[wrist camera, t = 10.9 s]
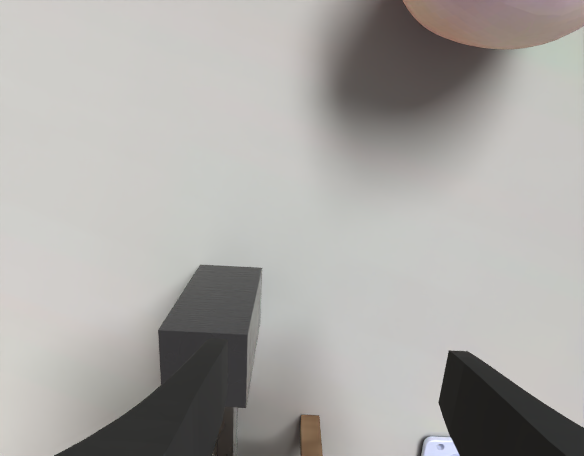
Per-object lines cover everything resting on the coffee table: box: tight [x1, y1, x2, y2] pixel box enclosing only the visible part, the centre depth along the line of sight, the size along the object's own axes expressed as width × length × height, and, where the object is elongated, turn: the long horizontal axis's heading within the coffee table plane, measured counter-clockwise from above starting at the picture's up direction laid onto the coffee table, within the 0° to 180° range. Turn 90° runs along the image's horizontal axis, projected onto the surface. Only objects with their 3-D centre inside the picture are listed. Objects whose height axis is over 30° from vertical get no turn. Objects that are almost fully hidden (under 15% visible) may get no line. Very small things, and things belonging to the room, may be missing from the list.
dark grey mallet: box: [158, 265, 262, 456], centre depth 21 cm, size 4×16×7 cm, turn 177°
